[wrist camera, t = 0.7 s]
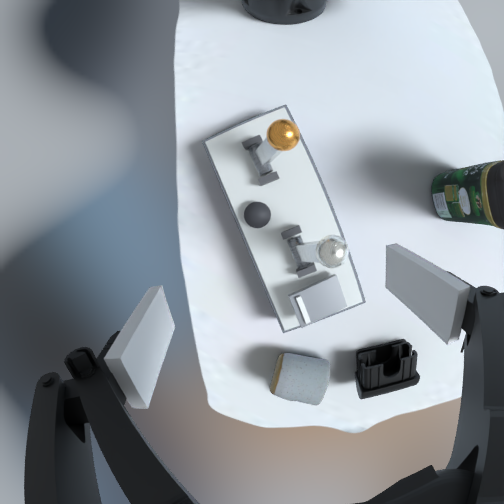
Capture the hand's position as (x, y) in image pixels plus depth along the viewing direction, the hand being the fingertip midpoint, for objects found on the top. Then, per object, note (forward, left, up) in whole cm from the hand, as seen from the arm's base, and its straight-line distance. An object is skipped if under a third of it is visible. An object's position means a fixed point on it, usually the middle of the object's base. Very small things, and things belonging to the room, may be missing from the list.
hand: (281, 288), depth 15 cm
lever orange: (-8, -7, -18) cm, 21 cm away
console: (-2, -1, -25) cm, 25 cm away
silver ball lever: (0, +2, -18) cm, 18 cm away
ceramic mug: (+19, +13, -25) cm, 34 cm away
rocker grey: (+4, +7, -18) cm, 20 cm away
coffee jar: (-19, +21, -25) cm, 38 cm away
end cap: (+11, +25, -25) cm, 37 cm away
